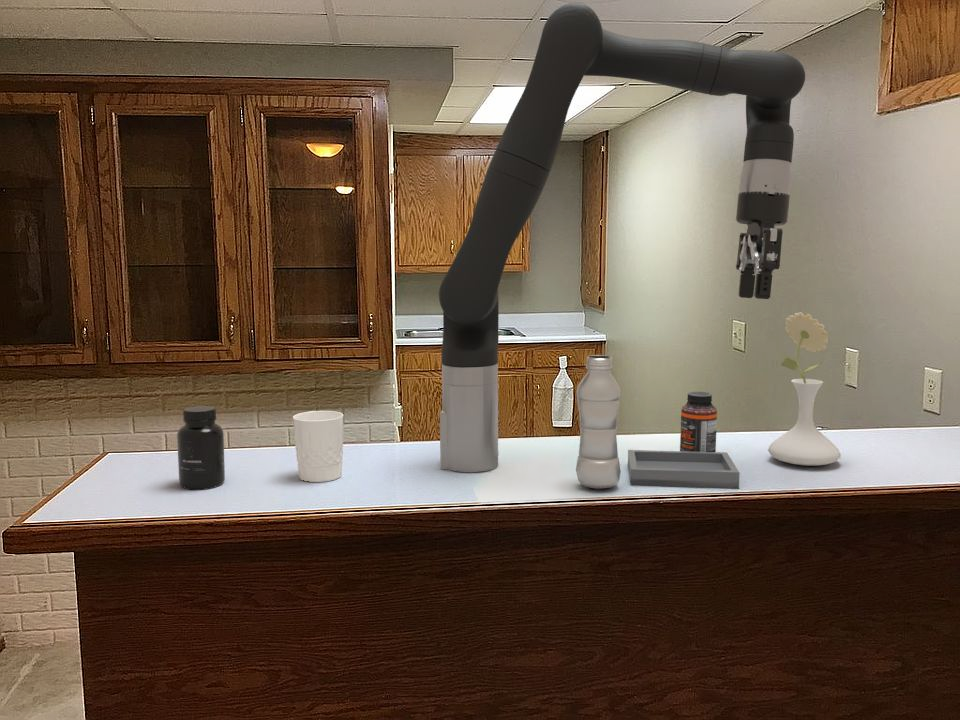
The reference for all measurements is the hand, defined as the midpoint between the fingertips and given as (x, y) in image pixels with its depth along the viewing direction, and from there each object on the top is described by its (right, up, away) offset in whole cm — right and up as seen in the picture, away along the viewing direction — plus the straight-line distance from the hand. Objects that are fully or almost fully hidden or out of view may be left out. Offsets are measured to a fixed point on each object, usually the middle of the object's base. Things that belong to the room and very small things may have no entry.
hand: (753, 298), depth 129 cm
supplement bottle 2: (-5, -27, +14) cm, 30 cm away
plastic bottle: (-25, -29, -3) cm, 38 cm away
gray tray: (-11, -28, +3) cm, 30 cm away
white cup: (-68, -29, +4) cm, 74 cm away
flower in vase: (+12, -27, +11) cm, 31 cm away
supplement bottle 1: (-86, -29, +1) cm, 91 cm away
